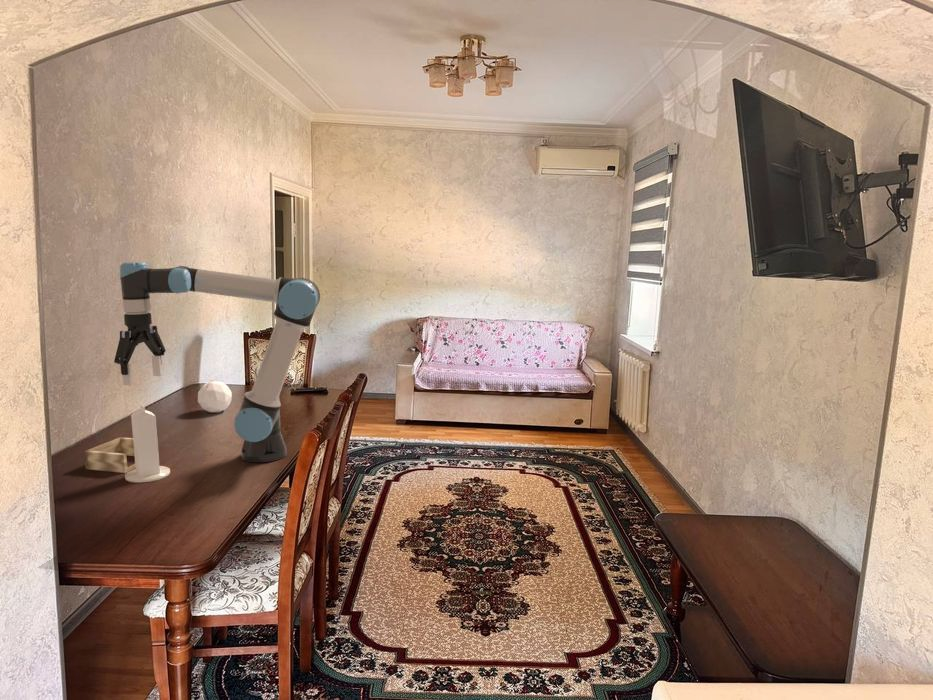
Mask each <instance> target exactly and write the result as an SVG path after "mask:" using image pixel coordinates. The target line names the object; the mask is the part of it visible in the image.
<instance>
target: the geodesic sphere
mask: <svg viewBox="0 0 933 700" xmlns="http://www.w3.org/2000/svg"><path fill="white" fill-rule="evenodd" d="M232 393H233V392H232V391H231V389H230V387H229V386H228V385H227V384H226V383H224V382H223V381H221V380H220V381H219V380H209V381H208V382H206V383H205V384H203V385H202V386H201V388H200V389H199V391H198V392H197V403H198V404H199V405H200V406H201V408H202V409H203V410H204V411H207V412H208V413H221V412H223V411H224V410H226V409H227V408H228V407H229V405H230V404H231V402H232V397H233V396H232Z"/></svg>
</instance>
